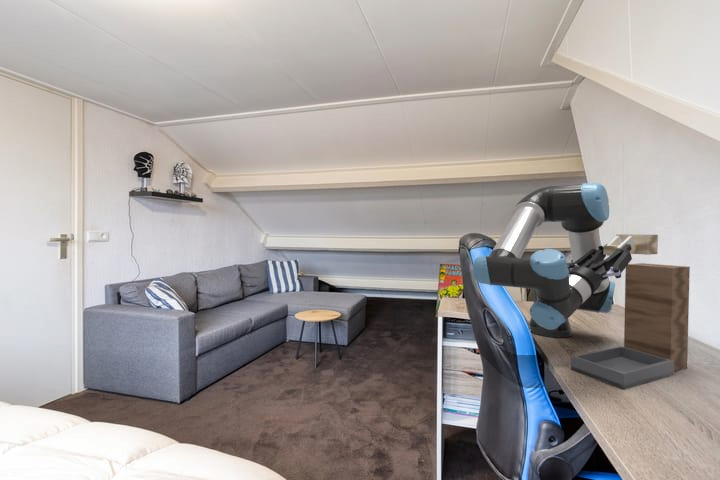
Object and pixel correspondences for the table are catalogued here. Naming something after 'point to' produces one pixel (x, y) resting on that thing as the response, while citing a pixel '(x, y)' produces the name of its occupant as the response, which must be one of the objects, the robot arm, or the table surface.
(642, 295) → the plinth
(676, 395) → the table surface
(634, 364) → the tray
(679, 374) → the table surface
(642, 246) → the mallet
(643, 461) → the table surface
